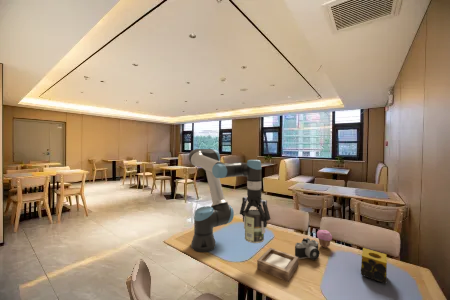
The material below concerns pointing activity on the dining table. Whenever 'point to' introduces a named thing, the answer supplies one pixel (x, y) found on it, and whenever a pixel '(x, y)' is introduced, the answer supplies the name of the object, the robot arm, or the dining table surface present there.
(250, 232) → the coffee can
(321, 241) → the cupcake
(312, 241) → the camera
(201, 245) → the robot arm
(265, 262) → the wooden box
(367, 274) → the tissue box
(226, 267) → the dining table surface
